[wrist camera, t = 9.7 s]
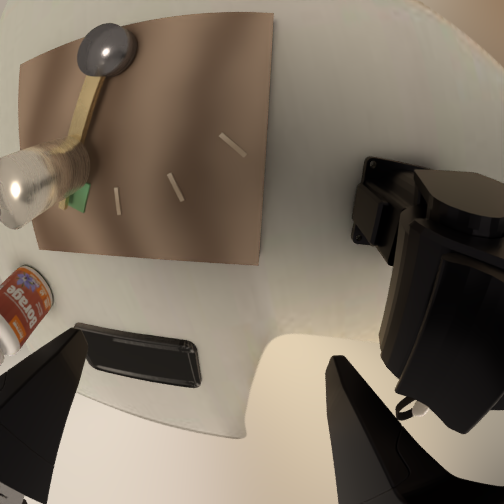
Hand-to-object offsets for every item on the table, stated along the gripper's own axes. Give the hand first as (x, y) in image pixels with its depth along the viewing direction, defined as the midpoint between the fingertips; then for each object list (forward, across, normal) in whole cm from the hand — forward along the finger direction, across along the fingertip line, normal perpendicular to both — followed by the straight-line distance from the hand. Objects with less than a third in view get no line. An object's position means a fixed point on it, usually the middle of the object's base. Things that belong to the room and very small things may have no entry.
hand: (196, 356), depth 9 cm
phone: (+13, +11, +17) cm, 24 cm away
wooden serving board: (+12, +8, -5) cm, 16 cm away
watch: (+13, -27, +26) cm, 40 cm away
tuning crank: (+11, +10, -7) cm, 16 cm away
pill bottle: (+13, +23, +9) cm, 28 cm away
